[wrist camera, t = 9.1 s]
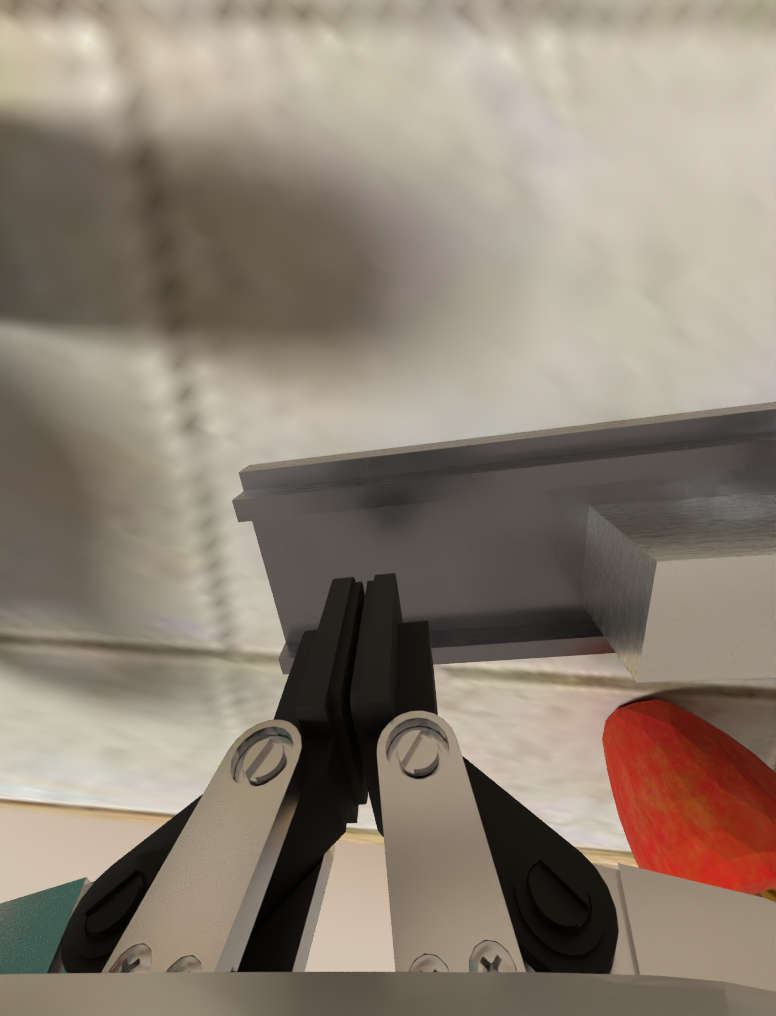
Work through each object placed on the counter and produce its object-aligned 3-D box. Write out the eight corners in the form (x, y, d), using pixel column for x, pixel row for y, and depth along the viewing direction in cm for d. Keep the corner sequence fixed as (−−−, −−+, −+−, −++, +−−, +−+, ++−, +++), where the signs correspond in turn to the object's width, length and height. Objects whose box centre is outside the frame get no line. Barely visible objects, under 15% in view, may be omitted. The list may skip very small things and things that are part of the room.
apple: (746, 710, 18) (963, 938, 11) (645, 783, 20) (773, 1014, 13) (643, 648, 17) (808, 853, 10) (549, 731, 19) (630, 950, 12)
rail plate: (249, 465, 15) (226, 480, 13) (1266, 342, 12) (1429, 340, 10) (299, 653, 18) (286, 687, 16) (1109, 596, 15) (1210, 630, 13)
